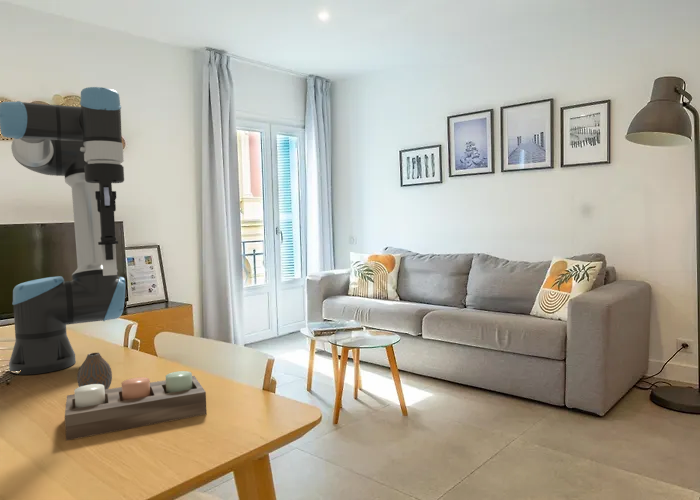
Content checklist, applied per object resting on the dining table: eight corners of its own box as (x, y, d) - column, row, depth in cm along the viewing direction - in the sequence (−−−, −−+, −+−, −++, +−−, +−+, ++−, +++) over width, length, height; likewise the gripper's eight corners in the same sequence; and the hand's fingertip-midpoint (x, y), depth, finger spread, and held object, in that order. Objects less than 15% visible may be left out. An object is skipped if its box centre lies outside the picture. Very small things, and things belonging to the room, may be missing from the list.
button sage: (164, 392, 106) (163, 373, 106) (190, 388, 108) (189, 369, 108) (168, 400, 102) (167, 380, 101) (194, 395, 104) (193, 376, 104)
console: (68, 417, 102) (66, 395, 101) (195, 396, 112) (194, 375, 112) (66, 440, 91) (64, 415, 91) (206, 414, 102) (205, 391, 101)
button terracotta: (121, 400, 103) (120, 379, 102) (149, 395, 105) (148, 375, 105) (123, 408, 98) (122, 387, 98) (151, 403, 100) (150, 382, 100)
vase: (99, 398, 112) (96, 358, 112) (71, 397, 114) (68, 357, 113) (119, 388, 119) (117, 350, 118) (92, 387, 120) (90, 349, 120)
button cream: (75, 407, 99) (74, 386, 99) (105, 402, 101) (103, 382, 101) (75, 416, 94) (74, 394, 94) (105, 411, 97) (104, 389, 96)
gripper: (84, 166, 115) (90, 273, 116) (84, 159, 103) (90, 279, 105) (121, 167, 118) (126, 271, 119) (125, 160, 106) (131, 276, 108)
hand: (110, 274), depth 112 cm, fingers closed
